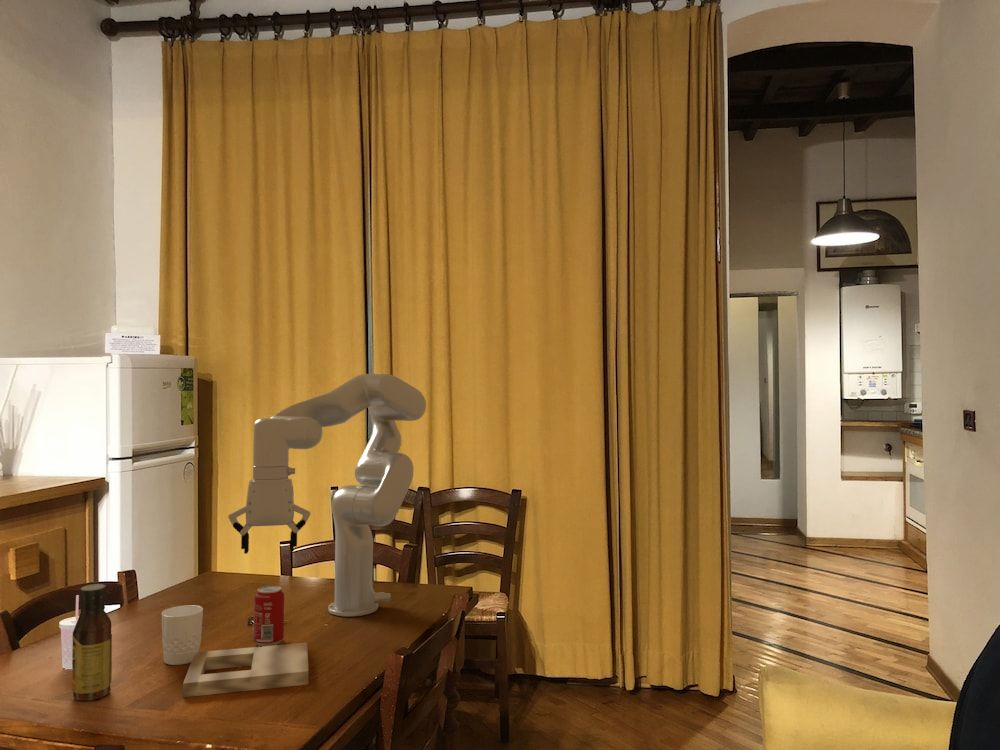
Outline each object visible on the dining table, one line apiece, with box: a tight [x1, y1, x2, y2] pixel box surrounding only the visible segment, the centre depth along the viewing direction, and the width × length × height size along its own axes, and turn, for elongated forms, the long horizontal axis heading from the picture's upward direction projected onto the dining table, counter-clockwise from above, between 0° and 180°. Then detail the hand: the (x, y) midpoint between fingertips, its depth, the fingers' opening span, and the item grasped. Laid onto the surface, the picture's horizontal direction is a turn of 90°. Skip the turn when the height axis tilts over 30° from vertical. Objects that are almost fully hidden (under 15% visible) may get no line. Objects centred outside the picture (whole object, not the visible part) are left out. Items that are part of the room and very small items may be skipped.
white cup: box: [161, 604, 204, 666], centre depth 147 cm, size 8×8×10 cm
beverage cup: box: [58, 594, 80, 670], centre depth 143 cm, size 6×6×14 cm
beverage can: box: [253, 585, 285, 647], centre depth 156 cm, size 6×6×12 cm
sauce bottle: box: [71, 583, 113, 702], centre depth 129 cm, size 6×6×20 cm
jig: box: [182, 642, 309, 698], centre depth 139 cm, size 22×16×2 cm
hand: (269, 551), depth 157 cm, fingers open, 9 cm apart
